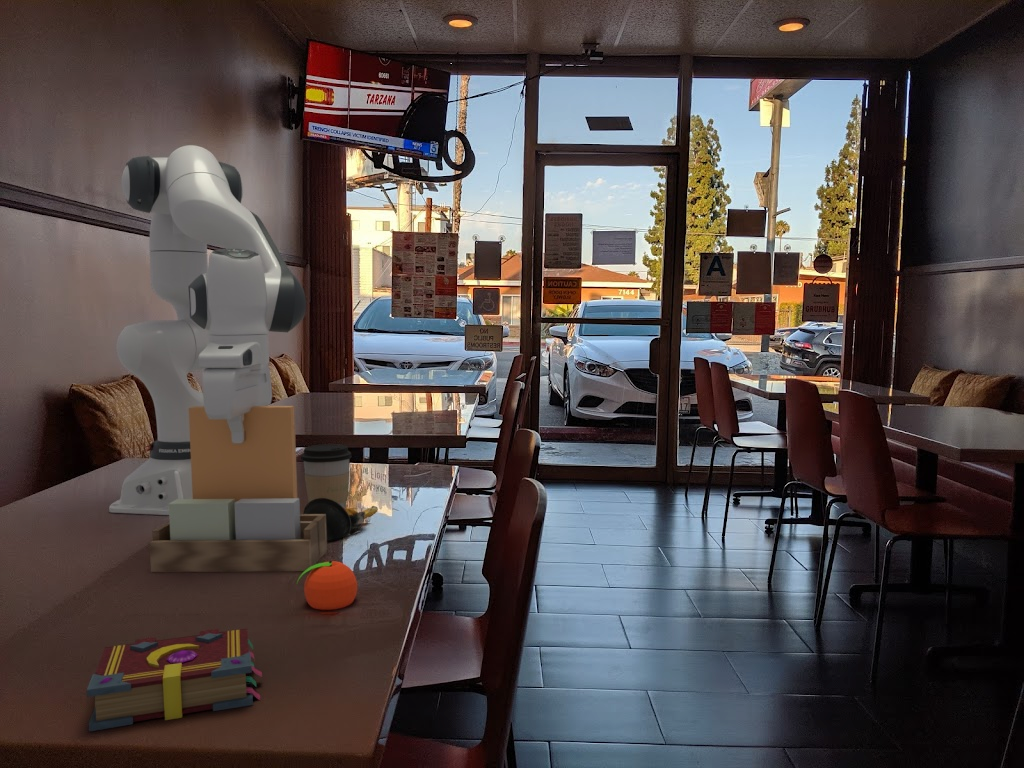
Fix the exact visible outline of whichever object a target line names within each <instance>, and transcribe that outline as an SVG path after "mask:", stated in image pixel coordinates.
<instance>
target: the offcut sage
mask: <svg viewBox="0 0 1024 768" xmlns="http://www.w3.org/2000/svg"><path fill="white" fill-rule="evenodd" d="M234 503H235V499H177V500H175V501H173V502H171V503H169V515H168V517H169V518H168V519H169V520H168V521H170V540H236V529H235V506H234Z"/></svg>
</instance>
